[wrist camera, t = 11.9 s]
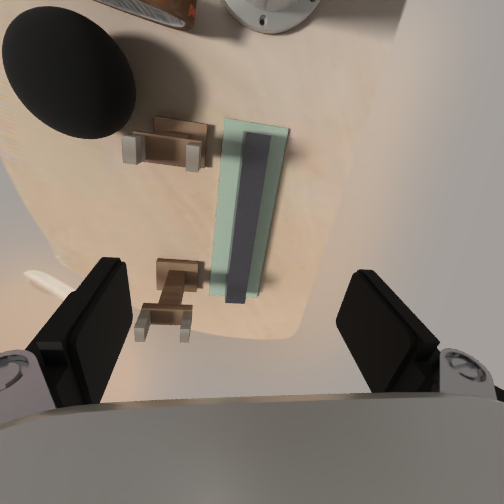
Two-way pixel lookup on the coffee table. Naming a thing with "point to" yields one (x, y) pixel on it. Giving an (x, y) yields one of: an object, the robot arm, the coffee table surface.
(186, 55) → the coffee table surface
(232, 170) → the mat
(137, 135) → the rack
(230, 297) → the rail
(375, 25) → the coffee table surface
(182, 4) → the tin
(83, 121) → the decorative ball
